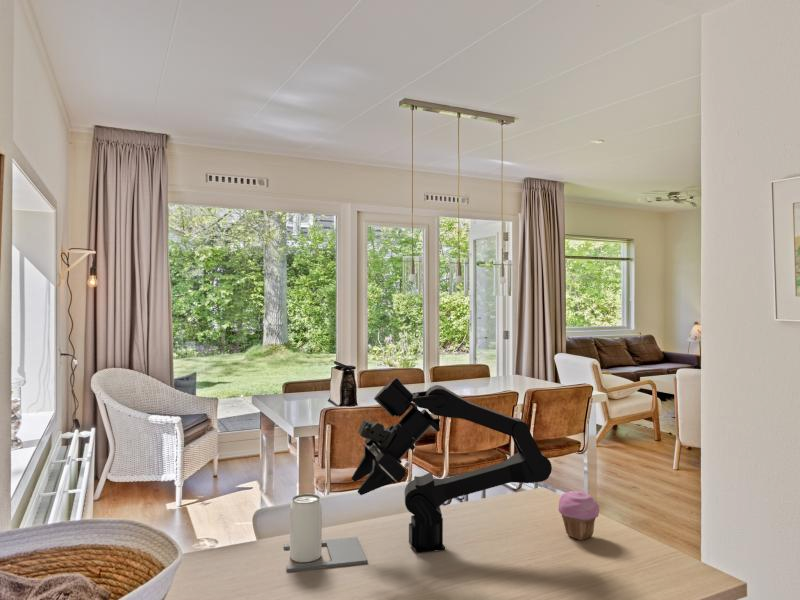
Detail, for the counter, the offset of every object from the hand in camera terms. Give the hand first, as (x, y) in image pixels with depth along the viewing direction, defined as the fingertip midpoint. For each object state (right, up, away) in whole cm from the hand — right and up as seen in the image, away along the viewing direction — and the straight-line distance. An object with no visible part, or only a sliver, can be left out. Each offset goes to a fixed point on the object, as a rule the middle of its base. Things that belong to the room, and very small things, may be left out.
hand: (355, 486), depth 119 cm
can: (-10, -14, -3) cm, 17 cm away
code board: (-6, -14, -2) cm, 15 cm away
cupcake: (+50, -14, +8) cm, 52 cm away
